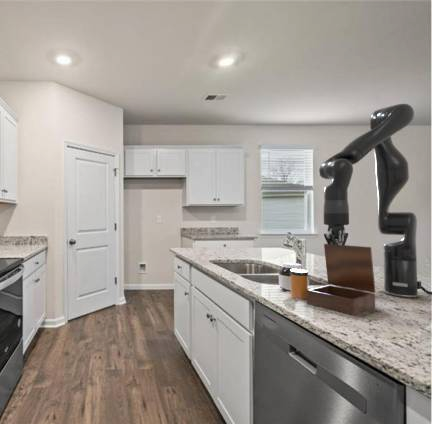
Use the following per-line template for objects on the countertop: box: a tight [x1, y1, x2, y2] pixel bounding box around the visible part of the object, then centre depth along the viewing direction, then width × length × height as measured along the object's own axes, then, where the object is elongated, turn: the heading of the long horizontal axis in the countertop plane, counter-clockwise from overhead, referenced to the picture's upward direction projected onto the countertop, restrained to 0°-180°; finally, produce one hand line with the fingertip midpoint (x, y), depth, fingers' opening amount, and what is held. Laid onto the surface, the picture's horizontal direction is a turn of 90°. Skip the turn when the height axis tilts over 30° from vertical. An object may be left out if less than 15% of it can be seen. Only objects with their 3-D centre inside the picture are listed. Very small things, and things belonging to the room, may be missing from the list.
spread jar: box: [278, 262, 310, 293], centre depth 120 cm, size 12×11×12 cm
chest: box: [306, 284, 376, 317], centre depth 96 cm, size 15×14×6 cm
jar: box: [290, 269, 309, 300], centre depth 107 cm, size 6×6×11 cm
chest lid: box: [323, 243, 376, 293], centre depth 99 cm, size 16×14×1 cm
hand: (336, 257), depth 105 cm, fingers closed
